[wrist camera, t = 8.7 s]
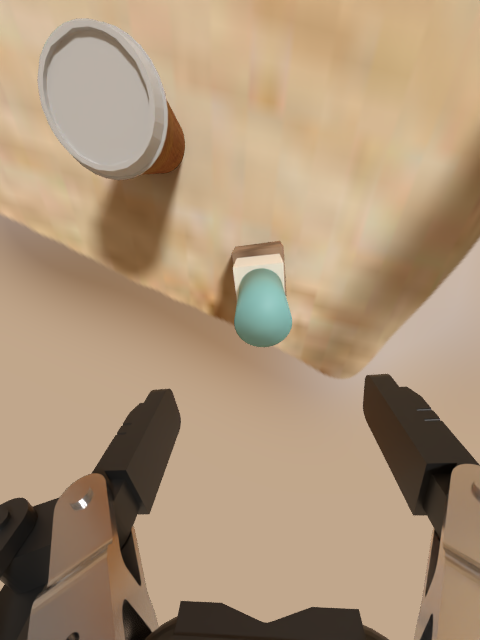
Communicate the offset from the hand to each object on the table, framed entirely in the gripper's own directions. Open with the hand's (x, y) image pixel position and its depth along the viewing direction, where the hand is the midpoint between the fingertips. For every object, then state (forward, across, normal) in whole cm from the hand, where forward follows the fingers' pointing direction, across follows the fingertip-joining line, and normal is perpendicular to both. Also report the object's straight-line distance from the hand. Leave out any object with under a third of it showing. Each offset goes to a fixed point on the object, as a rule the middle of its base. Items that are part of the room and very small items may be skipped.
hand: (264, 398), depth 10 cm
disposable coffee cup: (+26, +10, -16) cm, 32 cm away
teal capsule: (+16, 0, 0) cm, 16 cm away
